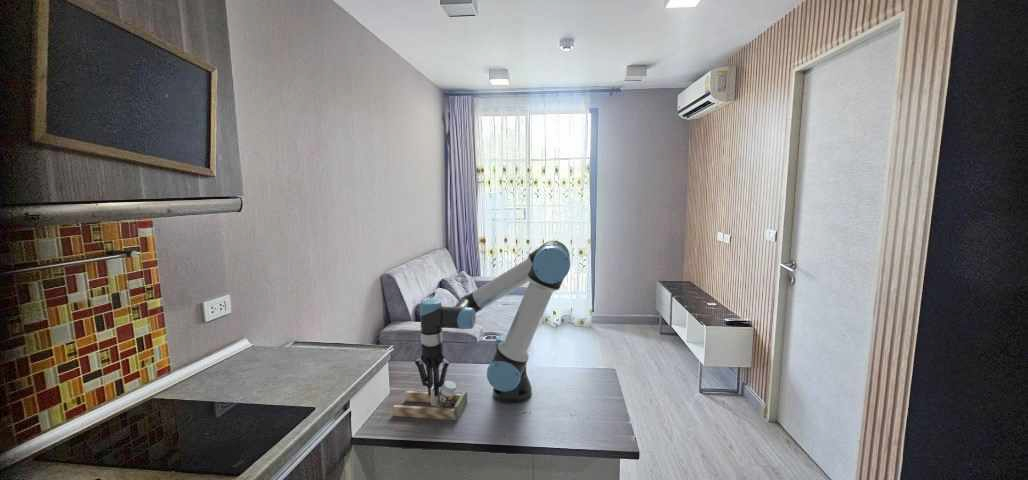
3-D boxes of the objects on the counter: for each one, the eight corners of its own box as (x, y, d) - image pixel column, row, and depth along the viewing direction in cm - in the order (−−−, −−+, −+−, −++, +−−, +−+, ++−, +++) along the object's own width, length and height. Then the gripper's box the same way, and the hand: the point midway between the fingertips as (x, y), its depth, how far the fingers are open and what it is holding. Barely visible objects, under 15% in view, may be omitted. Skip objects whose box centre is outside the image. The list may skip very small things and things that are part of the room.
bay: (467, 402, 151) (466, 390, 150) (458, 420, 139) (457, 406, 139) (407, 399, 155) (406, 387, 154) (393, 415, 144) (392, 402, 143)
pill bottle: (445, 415, 143) (454, 392, 141) (432, 408, 144) (440, 384, 142) (452, 407, 148) (460, 384, 146) (439, 400, 149) (446, 377, 147)
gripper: (452, 339, 146) (454, 399, 149) (419, 337, 148) (421, 396, 151) (445, 347, 139) (447, 410, 142) (410, 345, 141) (413, 407, 144)
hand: (434, 403), depth 147 cm, fingers closed
